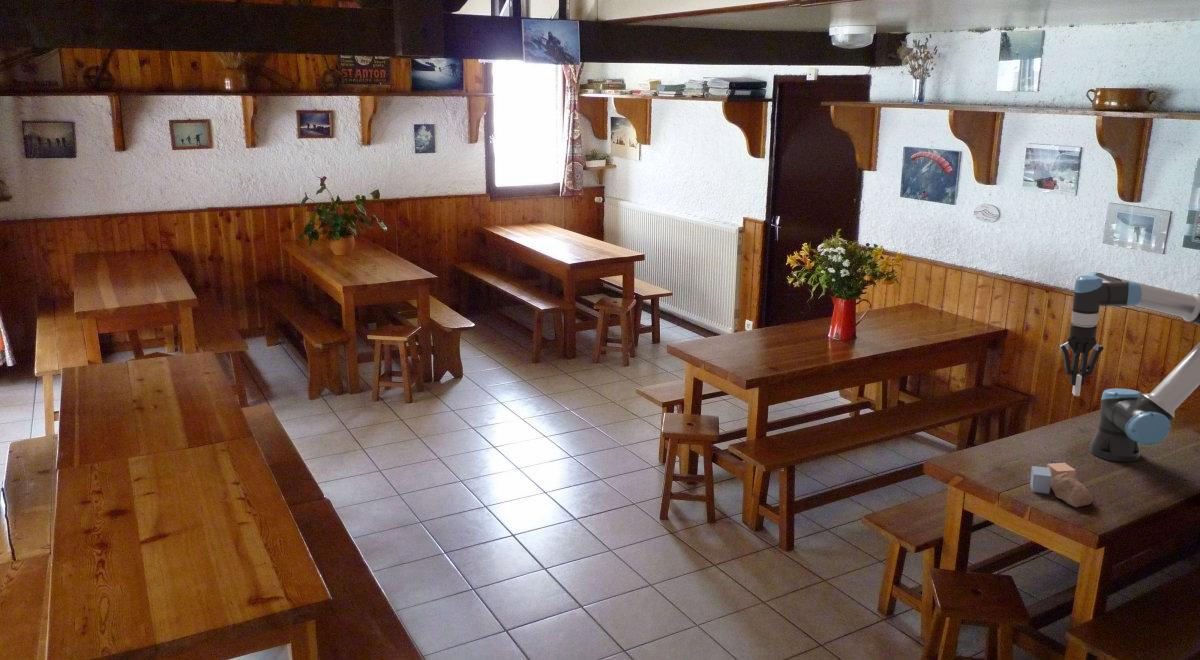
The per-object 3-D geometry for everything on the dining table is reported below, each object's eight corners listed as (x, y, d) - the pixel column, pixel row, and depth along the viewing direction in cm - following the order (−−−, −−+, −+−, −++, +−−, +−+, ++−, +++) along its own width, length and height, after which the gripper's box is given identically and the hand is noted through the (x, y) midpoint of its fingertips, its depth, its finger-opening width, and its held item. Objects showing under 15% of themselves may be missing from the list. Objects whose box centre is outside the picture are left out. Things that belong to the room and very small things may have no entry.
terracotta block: (1062, 479, 301) (1064, 462, 299) (1073, 487, 295) (1075, 470, 294) (1045, 481, 300) (1046, 463, 299) (1055, 488, 295) (1057, 471, 293)
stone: (1049, 498, 293) (1041, 477, 288) (1071, 481, 294) (1065, 460, 289) (1080, 519, 282) (1073, 498, 277) (1103, 501, 283) (1097, 480, 278)
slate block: (1047, 485, 297) (1049, 467, 296) (1049, 493, 291) (1051, 476, 290) (1030, 483, 299) (1031, 465, 298) (1032, 492, 293) (1033, 474, 291)
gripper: (1101, 321, 298) (1093, 391, 304) (1058, 321, 300) (1051, 390, 306) (1110, 327, 291) (1101, 398, 297) (1065, 326, 293) (1058, 397, 299)
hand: (1075, 394), depth 301 cm, fingers closed
